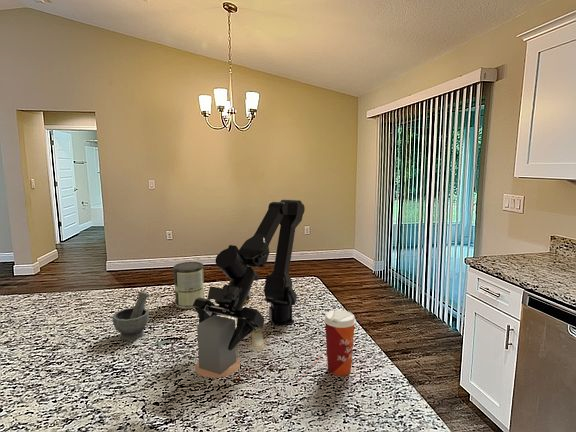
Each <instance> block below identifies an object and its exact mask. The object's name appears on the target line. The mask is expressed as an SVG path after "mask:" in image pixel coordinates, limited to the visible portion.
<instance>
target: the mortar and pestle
mask: <svg viewBox="0 0 576 432" xmlns="http://www.w3.org/2000/svg"><path fill="white" fill-rule="evenodd" d="M148 297H149V293H147V292H144V291H140V292H138V298H137V300H136V303H135V305H134V307H129V308H128V307H127V308H124V309H121V310H119V311H116V312H115V313H114V314H113V316H112V323H113V327H114V328H115V330H117V332H119V333H120V339H121V340H122V341H125V342H126V341H127V342H131V341H136V340H139V339H140V338H142V337H144V333H145V332H144V330H145V328H146V326H147V324H148V322H149V319H150V318H149V317H150V310H148V308H146V307H145V305H146V301H147V298H148Z"/></svg>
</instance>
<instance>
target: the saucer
mask: <svg viewBox="0 0 576 432" xmlns="http://www.w3.org/2000/svg"><path fill="white" fill-rule="evenodd" d="M240 366H241V360H240V358H239V357H238V356H236V362H235V363H234V364H233V365H232V366H230V367H229V368H228V369H227V370H226V371H224V372H223V373H222V374H221V375H220V374H217V373H213V372H210V371H207V370H204V369H201V368H199V360H198V361H197V362H196V363H195V364H194V370H195V373H196V374H198V375H199V376H201V377H204V378H209V379H210V378H211V379H213V378H214V379H216V378H224V377H227V376H229V375H232V374H234V373H235V372H237V371H238V370H239V369H240Z"/></svg>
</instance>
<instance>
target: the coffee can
mask: <svg viewBox="0 0 576 432" xmlns="http://www.w3.org/2000/svg"><path fill="white" fill-rule="evenodd" d="M172 268H173V278H174V279H173V281H174V299H175V307H177V308H179V309H194V308H193V307H192V305H193V303H194V301H195V300H196V299H197V298H204V299H205V289H204V287H205V286H204V263H202V262H199V261H184V262H180V263H176V264H175V265H173V267H172Z"/></svg>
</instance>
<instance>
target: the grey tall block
mask: <svg viewBox="0 0 576 432" xmlns="http://www.w3.org/2000/svg"><path fill="white" fill-rule="evenodd" d="M196 326H197V327H196V328H197V329H196V330H197V332H196V334H197V336H198V341H197V354H198V355H197V356H198V361H199V368H201V369H204V370H207V371H210V372H213V373H217V374H220V375H221V374H222V373H223V372H224V371H226V370H227V369H228V368H229V367H230V366H232V365H233V364H234V363H235V362H236V357H237V345H236V346H235V347H234V348H233V349H232V350H231V351H230V350H228V346H229V343H230V341H231V338H232V336H233V334H234V331H235V329H236V319H235V318H231V317H227V316H222V315H217V314H216V315H213V316H211V317H210V318H208V319H206V320H204V321H203V322H201V323H199V322H198V324H196Z"/></svg>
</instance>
